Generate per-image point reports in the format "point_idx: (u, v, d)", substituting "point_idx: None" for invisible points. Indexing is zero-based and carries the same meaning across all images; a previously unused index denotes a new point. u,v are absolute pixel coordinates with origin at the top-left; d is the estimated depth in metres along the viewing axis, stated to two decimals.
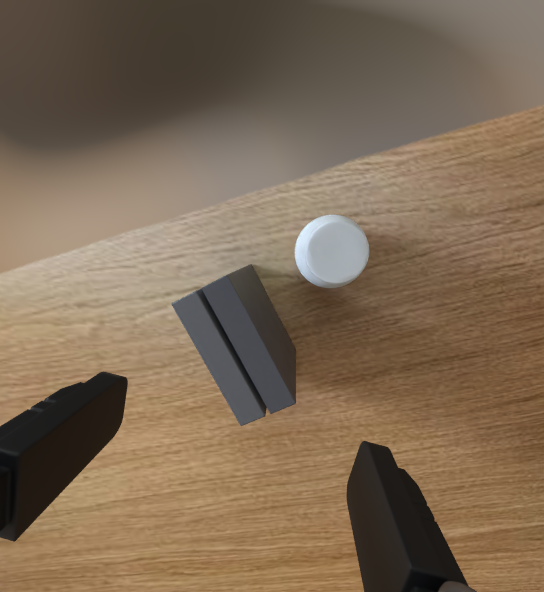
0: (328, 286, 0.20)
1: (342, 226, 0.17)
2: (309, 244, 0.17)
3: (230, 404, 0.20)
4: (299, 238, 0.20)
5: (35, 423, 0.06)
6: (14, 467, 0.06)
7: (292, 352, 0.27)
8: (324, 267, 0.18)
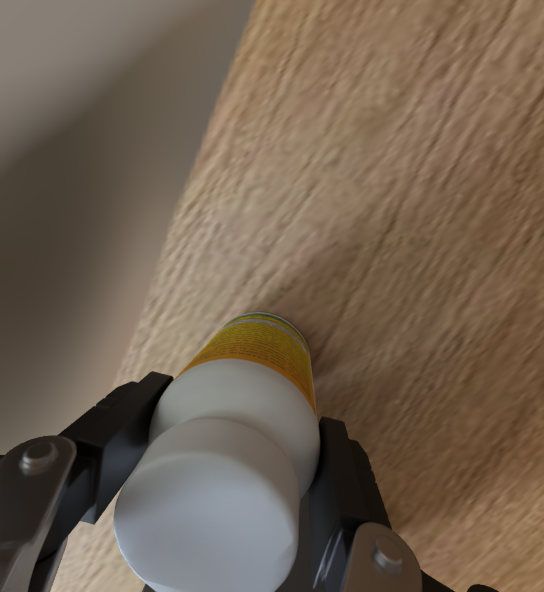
0: None
1: (149, 485, 0.06)
2: (136, 569, 0.06)
3: None
4: None
5: (109, 418, 0.07)
6: (98, 457, 0.06)
7: None
8: (216, 584, 0.06)
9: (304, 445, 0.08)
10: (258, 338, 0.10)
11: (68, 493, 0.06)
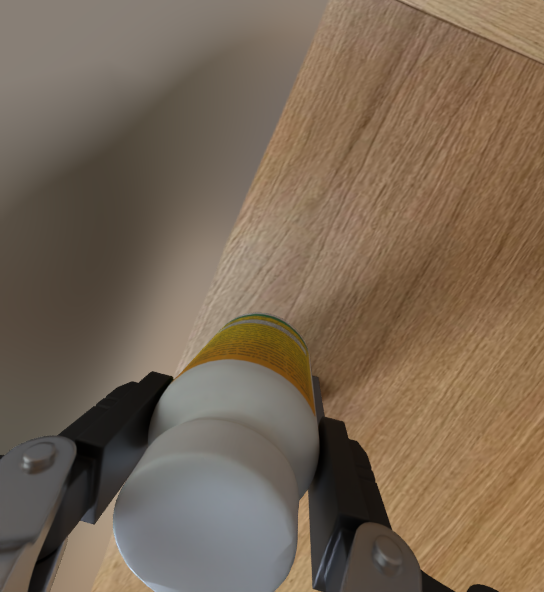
0: None
1: (147, 485, 0.06)
2: (135, 569, 0.06)
3: None
4: None
5: (109, 418, 0.07)
6: (98, 457, 0.06)
7: (313, 385, 0.31)
8: (215, 585, 0.06)
9: (303, 446, 0.08)
10: (257, 339, 0.10)
11: (68, 493, 0.06)
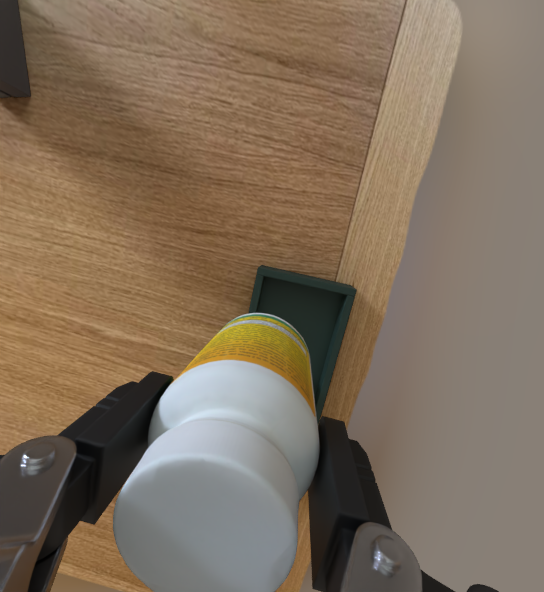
0: None
1: (148, 486, 0.06)
2: (136, 570, 0.06)
3: None
4: None
5: (108, 418, 0.07)
6: (98, 457, 0.06)
7: (8, 76, 0.28)
8: (215, 585, 0.06)
9: (303, 447, 0.08)
10: (257, 339, 0.10)
11: (68, 494, 0.06)
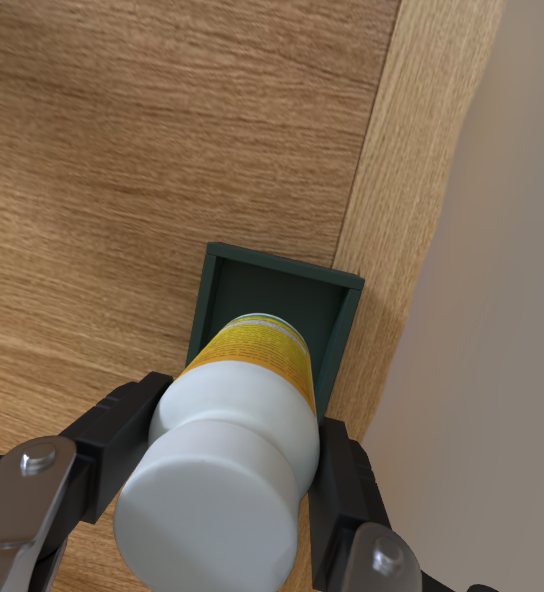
0: None
1: (148, 487, 0.06)
2: (136, 571, 0.06)
3: None
4: None
5: (109, 418, 0.07)
6: (98, 457, 0.06)
7: None
8: (215, 586, 0.06)
9: (304, 448, 0.08)
10: (258, 340, 0.10)
11: (69, 493, 0.06)
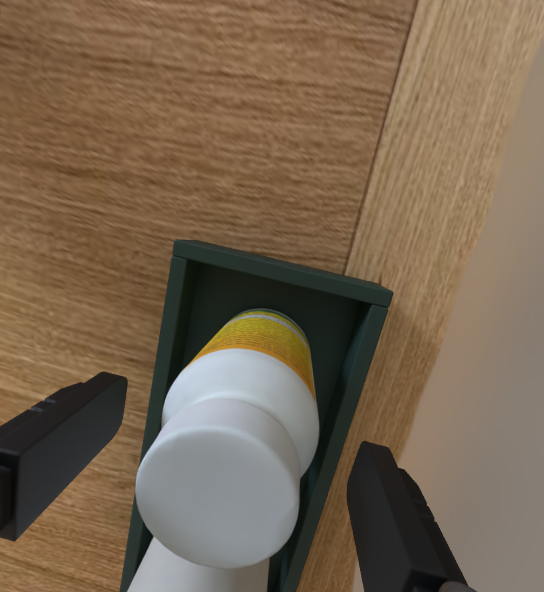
0: None
1: (167, 455, 0.06)
2: (155, 532, 0.07)
3: None
4: None
5: (35, 423, 0.06)
6: (14, 467, 0.06)
7: None
8: (226, 545, 0.07)
9: (304, 426, 0.08)
10: (261, 331, 0.11)
11: None
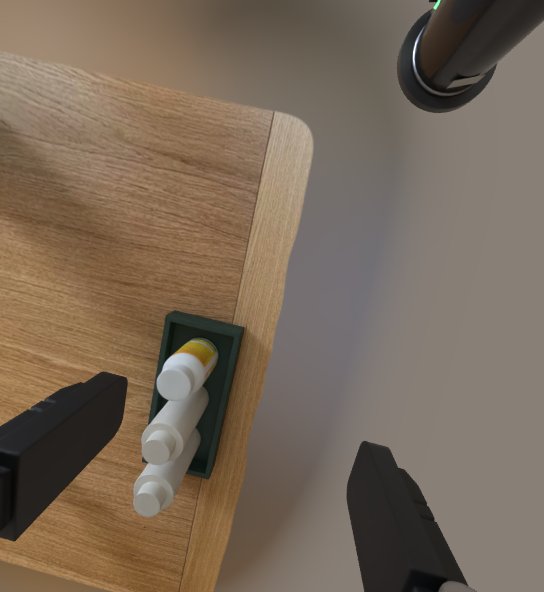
0: (196, 389, 0.34)
1: (163, 375, 0.31)
2: (160, 393, 0.31)
3: None
4: None
5: (35, 423, 0.06)
6: (14, 467, 0.06)
7: None
8: (176, 395, 0.31)
9: (198, 372, 0.33)
10: (192, 347, 0.36)
11: None
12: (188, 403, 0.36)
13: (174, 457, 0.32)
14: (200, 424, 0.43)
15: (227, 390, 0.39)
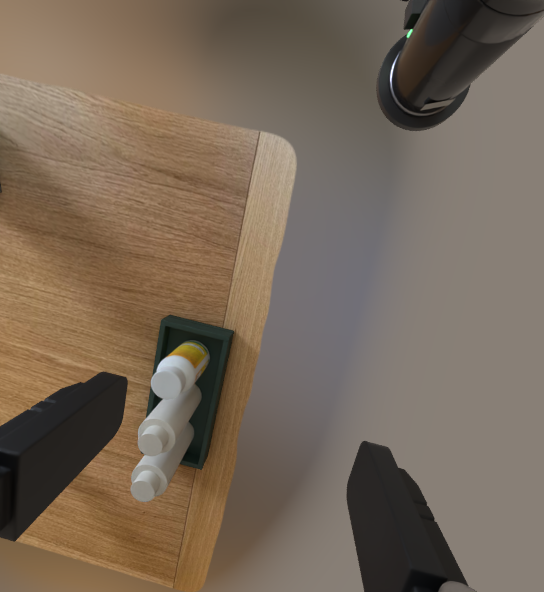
0: (187, 389, 0.37)
1: (157, 375, 0.34)
2: (154, 392, 0.35)
3: None
4: None
5: (35, 423, 0.06)
6: (14, 467, 0.06)
7: None
8: (168, 393, 0.35)
9: (189, 373, 0.36)
10: (185, 350, 0.39)
11: None
12: (181, 400, 0.40)
13: (167, 449, 0.36)
14: (194, 419, 0.46)
15: (217, 389, 0.42)
